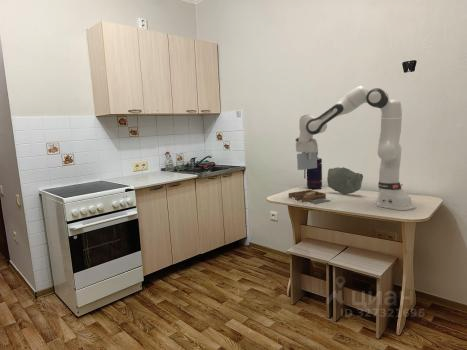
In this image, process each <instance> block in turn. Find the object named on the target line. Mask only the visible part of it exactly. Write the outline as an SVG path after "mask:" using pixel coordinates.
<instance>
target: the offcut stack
mask: <svg viewBox="0 0 467 350" xmlns="http://www.w3.org/2000/svg"><path fill="white" fill-rule="evenodd" d="M312 196H315V192H308V193H305V195H302V198H306V197H312Z"/></svg>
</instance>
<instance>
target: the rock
mask: <svg viewBox="0 0 467 350" xmlns="http://www.w3.org/2000/svg"><path fill="white" fill-rule="evenodd" d="M363 179H364V175H363V173H359V172H355V171H353V170H351V169H350V168H346V167H344V166H342V167H333V168H331V167H330V168H329V169H328V170H327V179H326V180H327V181H326V182H327V186H328V187H329V188H330V189H332V190H333V191H334V192H338V193H340V194H342V195H349V194H353V193H356V192H358V191H359V190H360V189H362V183H363V181H364V180H363Z"/></svg>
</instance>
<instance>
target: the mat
mask: <svg viewBox="0 0 467 350" xmlns="http://www.w3.org/2000/svg"><path fill="white" fill-rule="evenodd" d="M308 202H309V203H311V204H314V205H315V204H316V205H317V204H323V203H329V202H331V200H330V199H327V198H325V199H319V200H313V201H308Z"/></svg>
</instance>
